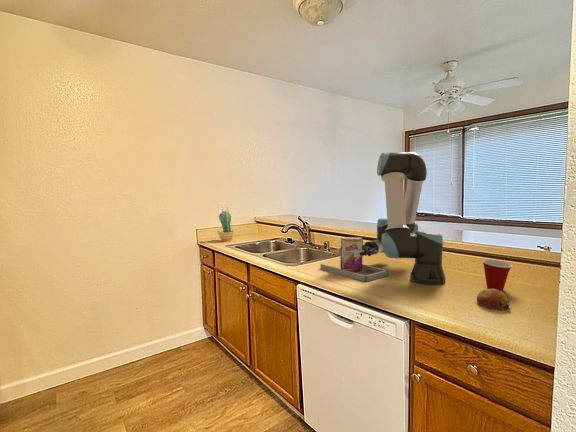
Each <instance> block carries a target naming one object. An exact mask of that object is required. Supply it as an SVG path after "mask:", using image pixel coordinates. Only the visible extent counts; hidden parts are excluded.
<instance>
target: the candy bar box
mask: <svg viewBox="0 0 576 432" xmlns="http://www.w3.org/2000/svg"><path fill="white" fill-rule="evenodd" d="M363 245H364V239H363V238H362V237H352V236H351V237H350V236H347V237H345V236H344V237H343V236H341V237H340V248H341V253H340V261H339V262H340V265H339V268H340V269H343V270H348V271H351V270H353V271H354V270H355V271H357V270H358V271H363V269H362V264H363V257H364V256H360V257H354V252H356V251H361V250H363Z"/></svg>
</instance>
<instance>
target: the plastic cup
mask: <svg viewBox="0 0 576 432" xmlns="http://www.w3.org/2000/svg"><path fill="white" fill-rule="evenodd" d="M482 263H483V270H484V276H485V283H486V284H485V285H486V288H487V289H497V290H499V291H501V292H504V289H505V285H506V284H507V278H508V275H509V272H510V270H511V269H512V268H513V264H512V263H509V262H507V261H504V260H497V259H488V258H487V259H486V258H485V259H482Z"/></svg>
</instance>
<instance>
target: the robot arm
mask: <svg viewBox="0 0 576 432" xmlns="http://www.w3.org/2000/svg"><path fill="white" fill-rule="evenodd" d="M424 160H425V159H423V158H422V157H421V156H420V155H419V154H418V153H416V152H414V151H407V152H406V151H402V152H401V151H399V152H395V151H393V152H392V151H388V152H383V153H381V154H380V155H379V158H378V161H377V167H376V170H377V171H376V174H377V176H379V177H380V179H381V181H382V182H384V192H385V193H384V194H385V206H386V207H385V208H386V217H385V218H382V217H381V218H378V219H377V224H376V240H369V241H366V242H364V243H363V250H361V251H356V252H354V257H360V256H363V257H364V256H365V257H366V256H368V257H371V256H373V255H374V256H375V255H378V254H382V253H384V255H385V256H386V257H387V258H389V259H414V263H413V266H412V269H411V272H410V280H411V281H413V282H415V283H419V284H423V285H432V286H438V285H443V284H445V283H446V278H447V277H446V274H445V272H444V269H443V248H444V247H443V246H444V241H443V240H444V239H443V238H444V237H443V235H442V234H440V233H439V232H438V233H437V232H433V231H428V230H420V229H419V225H418V222H416V218H417V214H418V208H419V204H420V198H421V194H422V193H421V192H422V189H423V184H424V182H425V181H426V179H427V175H428V174H427V173H428V171H427V165H426V162H425V161H424ZM404 179H406V180H407V181H406V188H405V193H404V183H403V181H404ZM337 254H340V255H341V247H338V248H337Z"/></svg>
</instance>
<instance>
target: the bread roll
mask: <svg viewBox="0 0 576 432" xmlns="http://www.w3.org/2000/svg"><path fill="white" fill-rule="evenodd" d="M476 302H477V304H478V305H479V306H481V307H483V308H486V309H490V310H494V311H507V310H508V309H510V306H511V304H510V299H509V298H508V297H507V295H506V294H505V293H504V292H503V291H499V290H497V289H488V288H487V289H483V290H481V291H480V292H479V293H478V294H477V296H476Z"/></svg>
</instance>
